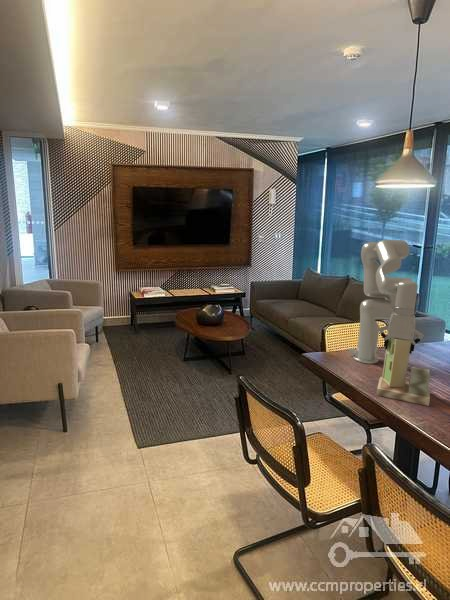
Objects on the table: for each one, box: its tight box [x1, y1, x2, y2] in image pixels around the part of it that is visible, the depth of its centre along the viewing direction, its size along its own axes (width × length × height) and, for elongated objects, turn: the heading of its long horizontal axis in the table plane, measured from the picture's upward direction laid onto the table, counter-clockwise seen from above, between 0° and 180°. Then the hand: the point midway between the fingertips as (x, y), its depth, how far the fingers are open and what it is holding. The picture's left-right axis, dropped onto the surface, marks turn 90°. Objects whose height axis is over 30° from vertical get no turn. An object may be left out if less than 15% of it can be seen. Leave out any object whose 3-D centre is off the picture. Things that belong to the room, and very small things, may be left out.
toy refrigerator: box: [381, 337, 412, 387], centre depth 180 cm, size 8×7×21 cm
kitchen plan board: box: [376, 366, 431, 407], centre depth 179 cm, size 20×14×11 cm
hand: (398, 350), depth 178 cm, fingers closed on toy refrigerator, 9 cm apart
